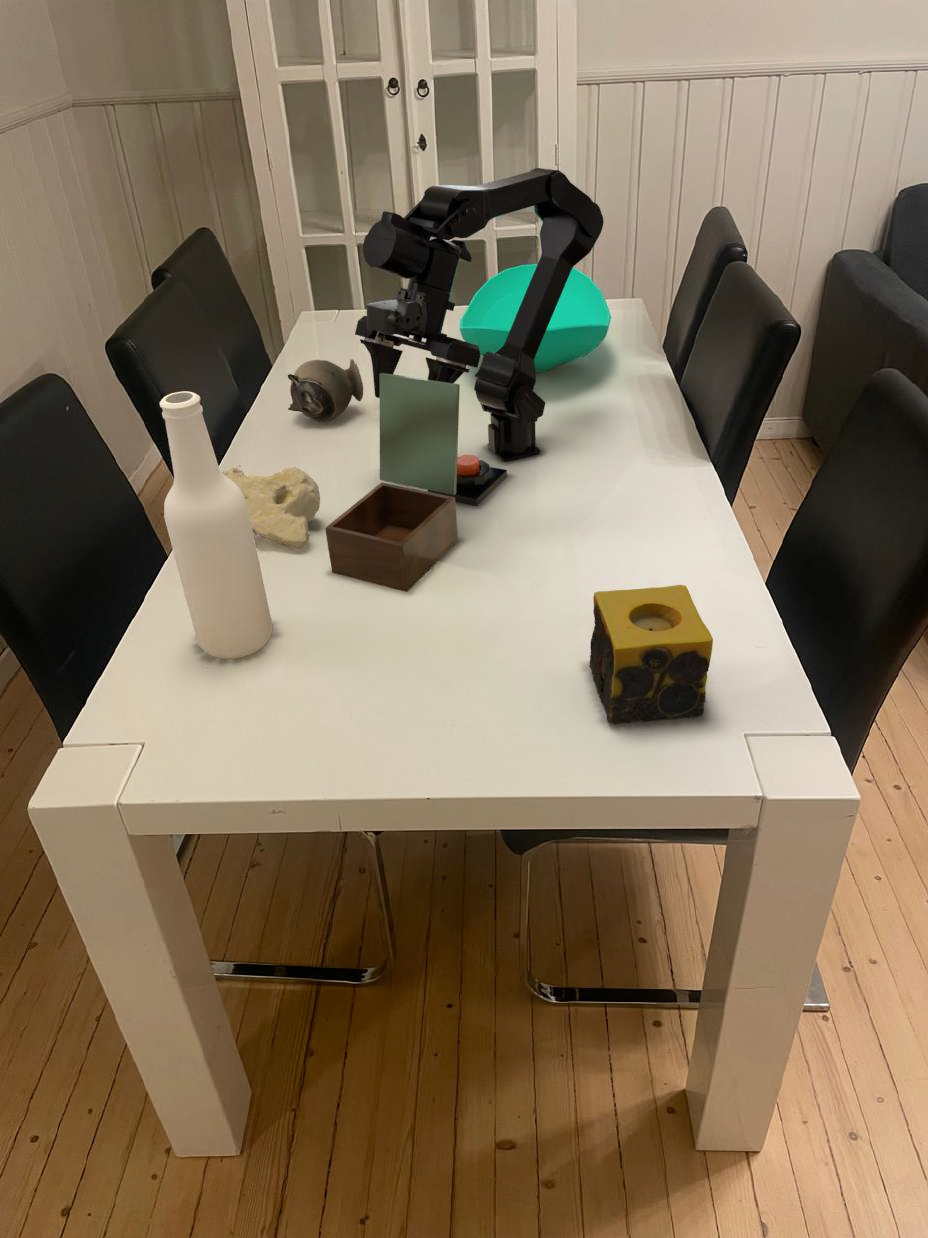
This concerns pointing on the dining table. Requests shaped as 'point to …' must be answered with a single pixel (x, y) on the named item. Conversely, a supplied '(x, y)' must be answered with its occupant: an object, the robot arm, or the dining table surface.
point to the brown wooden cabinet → (392, 536)
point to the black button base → (477, 484)
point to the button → (467, 465)
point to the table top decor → (568, 332)
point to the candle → (649, 654)
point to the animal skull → (279, 503)
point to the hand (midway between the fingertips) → (401, 405)
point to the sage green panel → (419, 432)
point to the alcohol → (212, 539)
